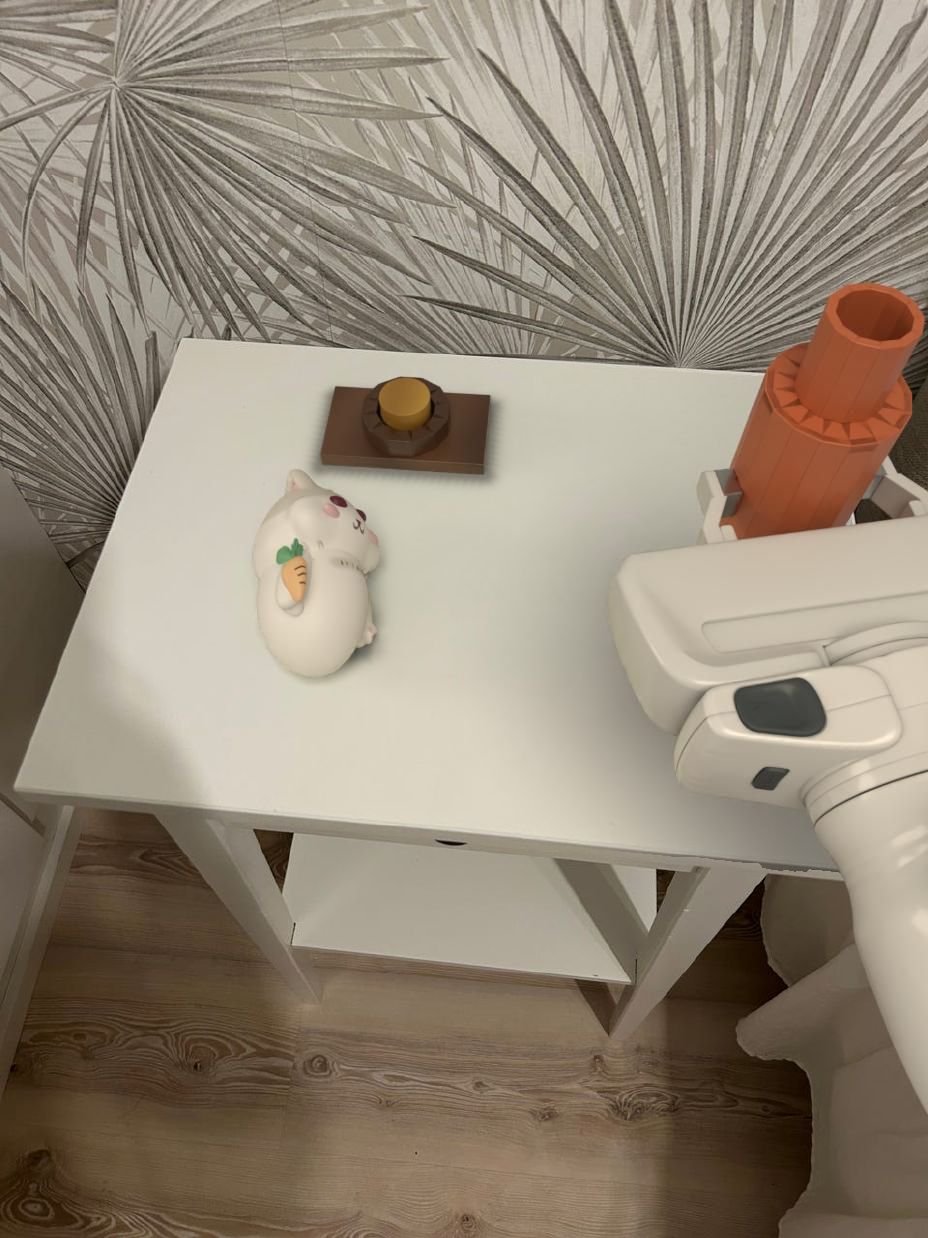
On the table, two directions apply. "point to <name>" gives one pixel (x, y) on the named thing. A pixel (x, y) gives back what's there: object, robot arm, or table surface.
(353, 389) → the brown button base
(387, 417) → the button
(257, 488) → the table surface
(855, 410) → the orange bottle
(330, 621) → the cat figurine
